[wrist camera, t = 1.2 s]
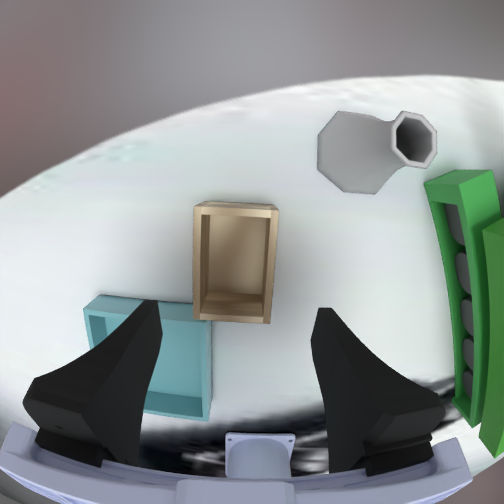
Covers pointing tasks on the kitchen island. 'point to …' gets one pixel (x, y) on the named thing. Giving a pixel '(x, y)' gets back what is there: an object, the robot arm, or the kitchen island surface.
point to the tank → (474, 294)
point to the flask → (373, 149)
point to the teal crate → (165, 355)
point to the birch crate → (234, 261)
